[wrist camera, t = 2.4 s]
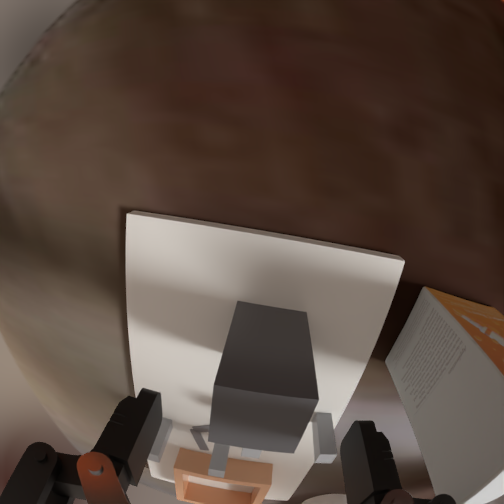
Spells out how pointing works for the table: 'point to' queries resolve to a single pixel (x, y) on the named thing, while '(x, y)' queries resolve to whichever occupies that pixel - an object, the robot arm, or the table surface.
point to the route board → (219, 320)
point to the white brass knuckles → (327, 499)
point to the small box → (454, 393)
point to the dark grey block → (264, 380)
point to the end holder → (220, 479)
